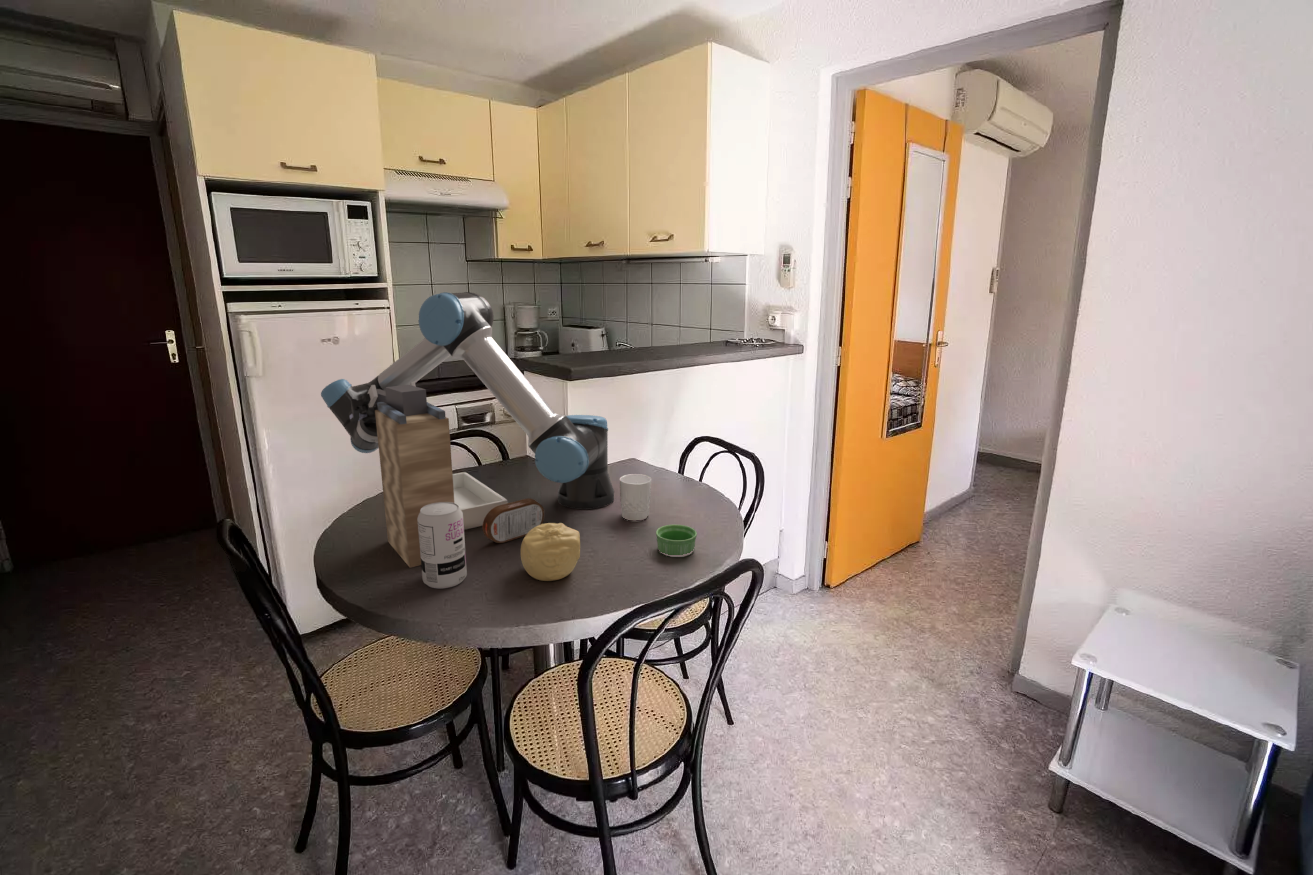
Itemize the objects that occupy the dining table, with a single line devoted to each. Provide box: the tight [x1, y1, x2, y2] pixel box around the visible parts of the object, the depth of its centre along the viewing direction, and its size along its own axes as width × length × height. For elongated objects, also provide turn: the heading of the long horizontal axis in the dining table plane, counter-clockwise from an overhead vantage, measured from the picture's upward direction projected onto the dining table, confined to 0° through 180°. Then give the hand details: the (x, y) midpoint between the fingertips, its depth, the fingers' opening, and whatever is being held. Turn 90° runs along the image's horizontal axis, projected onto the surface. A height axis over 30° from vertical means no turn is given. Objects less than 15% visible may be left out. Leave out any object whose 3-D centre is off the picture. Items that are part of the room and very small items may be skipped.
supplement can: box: [417, 502, 468, 589], centre depth 119 cm, size 8×8×15 cm
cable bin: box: [452, 471, 509, 531], centre depth 157 cm, size 28×14×5 cm, turn 38°
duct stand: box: [375, 401, 454, 569], centre depth 131 cm, size 16×10×32 cm, turn 38°
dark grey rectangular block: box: [368, 385, 428, 416], centre depth 133 cm, size 20×5×5 cm, turn 46°
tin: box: [482, 497, 545, 544], centre depth 140 cm, size 15×3×8 cm, turn 134°
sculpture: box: [520, 522, 581, 582], centre depth 123 cm, size 11×12×11 cm
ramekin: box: [655, 524, 698, 555], centre depth 135 cm, size 9×9×4 cm
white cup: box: [619, 473, 652, 521], centre depth 153 cm, size 8×8×10 cm
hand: (394, 389), depth 134 cm, fingers open, 8 cm apart
